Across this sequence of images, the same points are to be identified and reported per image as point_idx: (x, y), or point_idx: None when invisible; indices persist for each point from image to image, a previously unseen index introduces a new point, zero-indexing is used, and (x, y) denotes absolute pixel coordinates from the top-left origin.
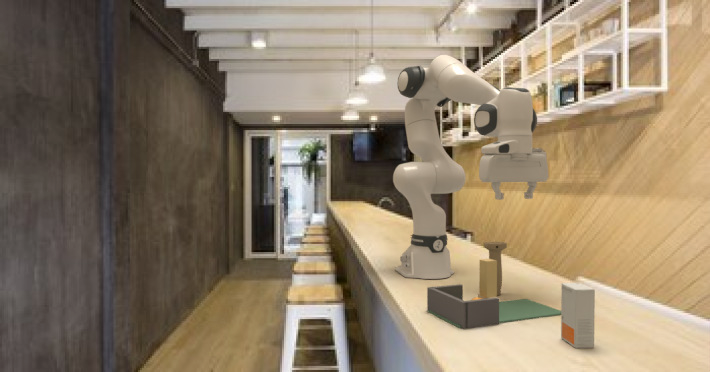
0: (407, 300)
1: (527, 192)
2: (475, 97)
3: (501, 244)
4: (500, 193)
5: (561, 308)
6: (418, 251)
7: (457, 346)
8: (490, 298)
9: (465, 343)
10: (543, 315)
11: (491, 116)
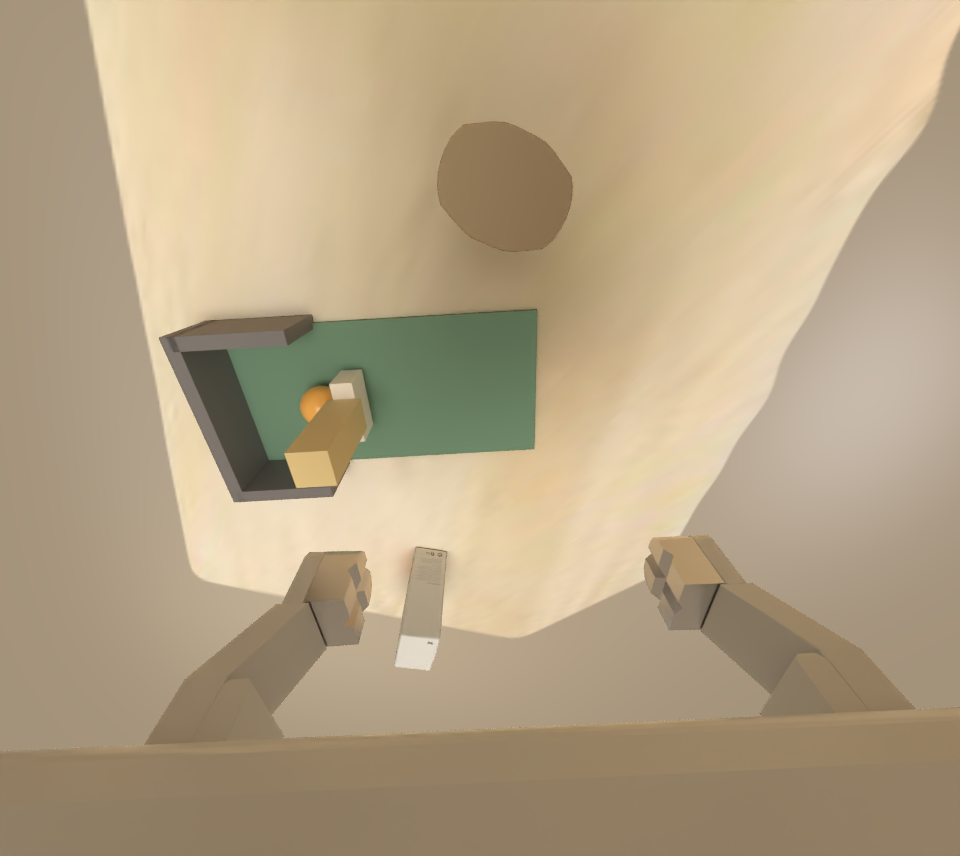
0: (149, 174)
1: (670, 619)
2: None
3: (511, 250)
4: (319, 642)
5: (408, 590)
6: None
7: (228, 532)
8: (312, 490)
9: (246, 525)
10: (469, 452)
11: None
